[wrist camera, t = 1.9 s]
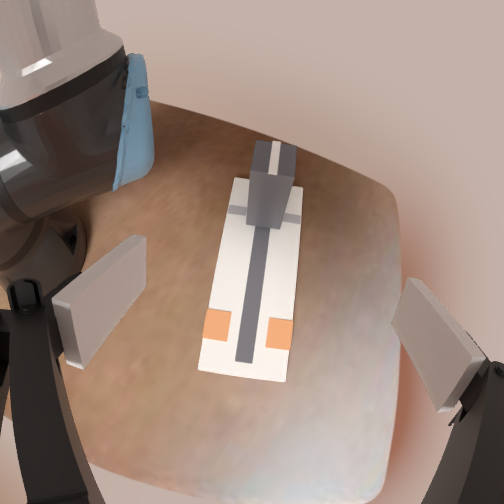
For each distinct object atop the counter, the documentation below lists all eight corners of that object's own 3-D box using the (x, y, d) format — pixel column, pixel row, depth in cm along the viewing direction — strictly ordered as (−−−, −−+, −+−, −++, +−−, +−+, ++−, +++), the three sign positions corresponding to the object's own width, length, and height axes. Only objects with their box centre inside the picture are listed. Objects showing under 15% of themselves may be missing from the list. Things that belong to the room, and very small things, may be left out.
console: (283, 381, 31) (286, 382, 29) (198, 370, 31) (196, 369, 29) (300, 196, 41) (303, 187, 39) (233, 186, 41) (233, 176, 39)
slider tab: (279, 230, 36) (295, 176, 26) (245, 224, 36) (250, 169, 26) (282, 201, 37) (297, 144, 28) (250, 196, 37) (256, 138, 28)
